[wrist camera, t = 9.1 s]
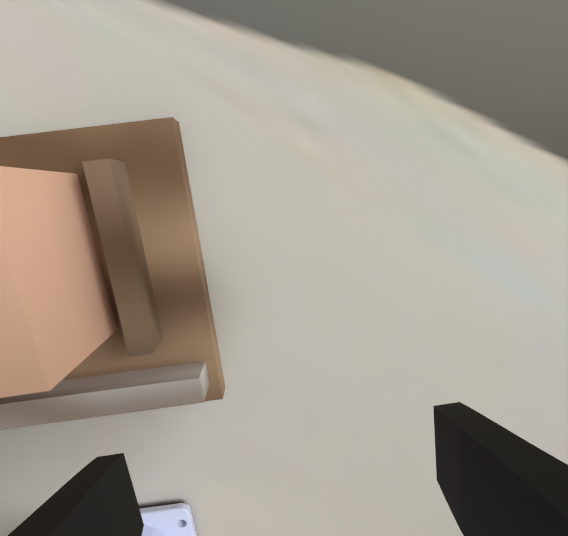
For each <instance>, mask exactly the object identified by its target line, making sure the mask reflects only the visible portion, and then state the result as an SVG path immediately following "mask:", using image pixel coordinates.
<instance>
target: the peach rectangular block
mask: <svg viewBox="0 0 568 536" xmlns="http://www.w3.org/2000/svg"><path fill="white" fill-rule="evenodd" d="M116 330H117V325H116V321H115V317H114V314H113V310H112V306H111V302H110V298H109V294H108V291H107V287H106V283H105V279H104V275H103V271H102V267H101V264H100V260H99V256H98V252H97V248H96V244H95V241H94V237H93V233H92V229H91V225H90V221H89V218H88V214H87V210H86V206H85V202H84V198H83V195H82V191H81V187H80V183H79V179H78V175H77V174H74V173H64V172H54V171H44V170H34V169H24V168H14V167H4V166H0V398H3V397H10V396H17V395H24V394H31V393H37V392H44V391H50V390H51V389H52V388H54V387H55V386H56V385H57V384H58V383H59V382H60V381H61V380H62V379H64V378H65V377H66V376H67V375H68V374H69V373H70V372H71V371H72V370H73V369H75V368H76V367H77V366H78V365H79V364H80V363H81V362H82V361H83V360H84V359H86V358H87V357H88V356H89V355H90V354H91V353H92V352H93V351H94V350H95V349H97V348H98V347H99V346H100V345H101V344H102V343H103V342H104V341H105V340H106V339H108V338H109V337H110V336H111V335H112V334H113V333H114V332H115V331H116Z"/></svg>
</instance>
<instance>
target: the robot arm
mask: <svg viewBox="0 0 568 536" xmlns="http://www.w3.org/2000/svg"><path fill="white" fill-rule="evenodd" d="M434 426H435V448H436V470H437V481H438V483H439V485H440V488H441V490H442V492H443V494H444V496H445V498H446V501H447V503H448V505H449V507H450V509H451V511H452V513H453V515H454V517H455V520H456V522H457V524H458V526H459V528H460V530H461V532H462V533H463V535H464V536H568V465H567V464H565V463H563V462H562V461H560V460H558V459H556V458H555V457H553V456H551V455H549V454H548V453H546V452H544V451H542V450H541V449H539V448H537V447H536V446H534V445H532V444H530V443H529V442H527V441H525V440H524V439H522V438H520V437H519V436H517V435H515V434H513V433H512V432H510V431H508V430H507V429H505V428H503V427H502V426H500V425H498V424H497V423H495V422H493V421H492V420H490V419H488V418H487V417H485V416H483V415H481V414H480V413H478V412H476V411H475V410H473V409H471V408H469V407H468V406H466V405H464V404H462V403H460V402H457V403H451V404H444V405H438V406H434ZM182 520H185V521H182ZM8 536H196V531H195V527H194V522H193V518H192V513H191V509H190V507H189V506H188V505H187V504H185V503H177V504H170V505H163V506H156V507H148V508H141V509H139V506H138V502H137V499H136V495H135V492H134V488H133V485H132V481H131V478H130V474H129V471H128V467H127V464H126V460H125V457H124V453H121V454H114V455H108V456H101V457H97V458H95V459H94V460H93V461H92V462H90V463H89V464H88V465H87V466H85V467H84V468H83V469H82V470H81V471H80V472H78V473H77V474H76V475H75V476H74V477H73V478H72V479H70V480H69V481H68V482H67V483H66V484H65V485H64V486H63V487H61V488H60V489H59V490H58V491H57V492H56V493H55V494H54V495H53V496H51V497H50V498H49V499H48V500H47V501H46V502H45V503H44V504H43V505H41V506H40V507H39V508H38V509H37V510H36V511H35V512H34V513H33V514H31V515H30V516H29V517H28V518H27V519H26V520H25V521H24V522H23V523H21V524H20V525H19V526H18V527H17V528H16V529H15V530H14V531H12V532H11V533H10V534H9V535H8Z"/></svg>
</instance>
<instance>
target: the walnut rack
mask: <svg viewBox="0 0 568 536" xmlns="http://www.w3.org/2000/svg"><path fill="white" fill-rule="evenodd" d="M0 166H4V167H14V168H24V169H34V170H44V171H54V172H64V173H74V174H77V175H78V179H79V183H80V187H81V191H82V195H83V198H84V202H85V206H86V210H87V214H88V218H89V221H90V225H91V229H92V233H93V237H94V241H95V244H96V248H97V252H98V256H99V260H100V264H101V267H102V271H103V275H104V279H105V283H106V287H107V291H108V294H109V298H110V302H111V306H112V310H113V314H114V317H115V321H116V325H117V330H116V331H115V332H114V333H113V334H112V335H111V336H110V337H109V338H108V339H106V340H105V341H104V342H103V343H102V344H101V345H100V346H99V347H98V348H97V349H95V350H94V351H93V352H92V353H91V354H90V355H89V356H88V357H87V358H86V359H84V360H83V361H82V362H81V363H80V364H79V365H78V366H77V367H76V368H75V369H73V370H72V371H71V372H70V373H69V374H68V375H67V376H66V377H65V378H64V379H62V380H61V381H60V382H59V383H58V384H57V385H56V386H55V387H54V388H52V389H51V390H50V391H44V392H37V393H31V394H24V395H17V396H10V397H3V398H0V430H1V429H8V428H16V427H23V426H31V425H38V424H46V423H53V422H61V421H68V420H75V419H83V418H90V417H98V416H105V415H113V414H120V413H128V412H135V411H143V410H150V409H158V408H165V407H173V406H180V405H187V404H195V403H202V402H204V401H210V400H217V399H223V395H224V390H225V384H224V378H223V373H222V367H221V361H220V356H219V350H218V344H217V338H216V333H215V327H214V321H213V316H212V310H211V304H210V299H209V293H208V287H207V281H206V276H205V270H204V264H203V259H202V253H201V247H200V242H199V236H198V230H197V225H196V219H195V213H194V207H193V202H192V196H191V190H190V185H189V179H188V173H187V168H186V162H185V156H184V150H183V145H182V139H181V133H180V128H179V122H178V121H176V120H175V119H174V118H173V117H170V118H162V119H153V120H145V121H136V122H128V123H119V124H111V125H102V126H94V127H85V128H77V129H68V130H60V131H51V132H43V133H34V134H26V135H17V136H9V137H0Z"/></svg>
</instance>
